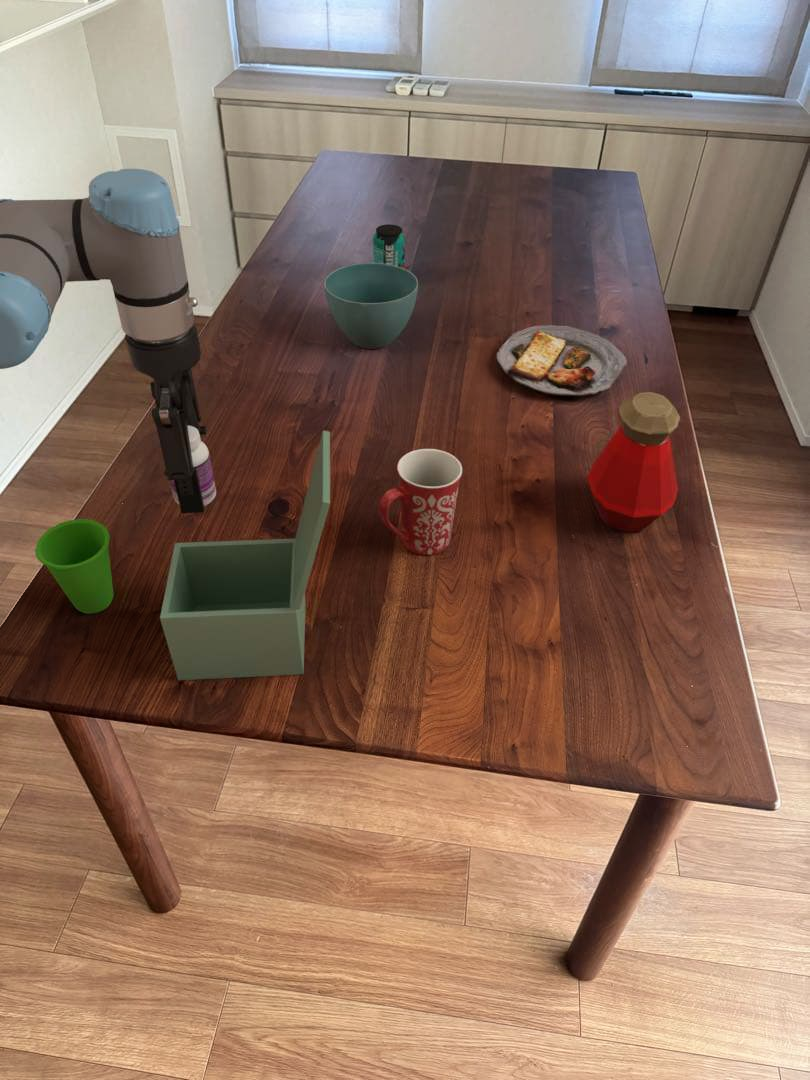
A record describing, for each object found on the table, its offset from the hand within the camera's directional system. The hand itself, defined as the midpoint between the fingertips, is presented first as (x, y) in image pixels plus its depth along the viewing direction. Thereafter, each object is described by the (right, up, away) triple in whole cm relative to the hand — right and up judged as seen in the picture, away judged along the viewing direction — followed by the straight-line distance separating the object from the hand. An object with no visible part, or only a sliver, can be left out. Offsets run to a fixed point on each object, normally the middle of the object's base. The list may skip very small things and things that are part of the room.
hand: (195, 494), depth 100 cm
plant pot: (+20, +35, +62) cm, 74 cm away
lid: (+15, -3, -10) cm, 19 cm away
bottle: (+61, -2, +23) cm, 65 cm away
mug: (+28, -6, +18) cm, 34 cm away
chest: (+6, -19, +4) cm, 20 cm away
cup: (-16, -14, +8) cm, 23 cm away
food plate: (+57, +28, +54) cm, 83 cm away
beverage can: (+23, +53, +81) cm, 99 cm away
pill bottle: (0, 0, 0) cm, 1 cm away
